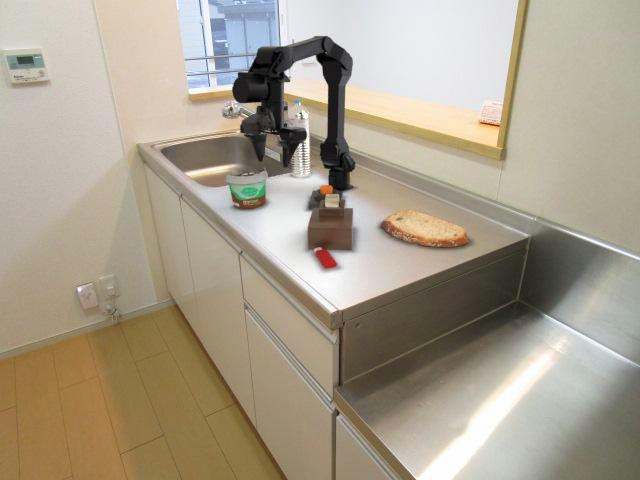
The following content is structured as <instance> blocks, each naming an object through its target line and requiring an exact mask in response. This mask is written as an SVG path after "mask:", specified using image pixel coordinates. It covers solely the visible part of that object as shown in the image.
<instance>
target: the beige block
mask: <svg viewBox="0 0 640 480" xmlns="http://www.w3.org/2000/svg"><path fill="white" fill-rule="evenodd" d="M325 207H339V194H326V197H325Z"/></svg>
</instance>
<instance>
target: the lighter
mask: <svg viewBox="0 0 640 480" xmlns="http://www.w3.org/2000/svg"><path fill="white" fill-rule="evenodd" d="M313 253H314V255H315V256H316V257H317V259H318V260H319V262H320V263H321V265H322V266H323V268H324V269H332V268H337V266H338V263H337V262H336V260H335V259H334V257H332V255H331V254H330V252H329V250H326V249H325V248H320V247H319V248H315V249H314V250H313Z"/></svg>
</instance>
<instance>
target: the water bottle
mask: <svg viewBox="0 0 640 480" xmlns="http://www.w3.org/2000/svg"><path fill="white" fill-rule="evenodd" d="M301 101H302V100H301V99H298V98H297V99H294V103H295V104H294V105H292V107H291V108H290V109H289V111H288V113H287V118H288V127H301V128H305V130H306V131H307V140H303V142H302V143H300V144H299V146H298V147H297V149H296V151H295V152H294V154H293V156H292V159H291V161H290V171H291V176H292V177H295V178H306V177H309V176H310V175H311V174H312V155H311V136H310V113H309V111H308V109H307V108H306V106H304V105H302V104H301V103H302V102H301Z"/></svg>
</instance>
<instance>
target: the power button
mask: <svg viewBox="0 0 640 480" xmlns="http://www.w3.org/2000/svg"><path fill="white" fill-rule="evenodd" d="M319 189H320V194H331V193H332V186H330V185H328V184H323V185H320V186H319Z"/></svg>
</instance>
